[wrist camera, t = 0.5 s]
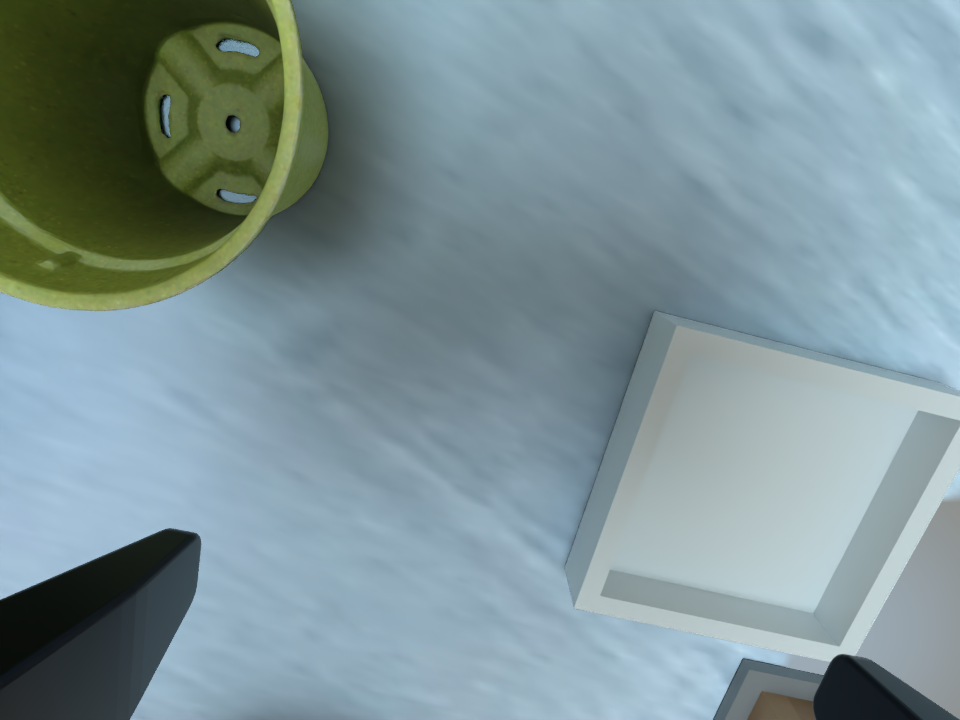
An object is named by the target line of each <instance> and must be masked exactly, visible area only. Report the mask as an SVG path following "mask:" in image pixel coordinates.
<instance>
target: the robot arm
mask: <svg viewBox="0 0 960 720" xmlns="http://www.w3.org/2000/svg"><path fill="white" fill-rule="evenodd" d="M200 551H201V539H200V536H199V535H198V534H197V533H194V532H188V531H183V530H178V529H171V528H169V529H165V530H162V531H159V532H157V533H155V534H152V535H150V536H148V537H145V538H143V539H141V540H138V541H136V542H134V543H131V544H129V545H127V546H125V547H122V548H120V549H118V550H115V551H113V552H111V553H108V554H106V555H104V556H101V557H99V558H97V559H94V560H92V561H90V562H87V563H85V564H83V565H80V566H78V567H76V568H73V569H71V570H69V571H66V572H64V573H62V574H59V575H57V576H55V577H52V578H50V579H48V580H45V581H43V582H41V583H38V584H36V585H34V586H31V587H29V588H27V589H24V590H22V591H20V592H17V593H15V594H13V595H10V596H8V597H6V598H3V599H1V600H0V720H130V718H131V716H132V714H133V713H134V711H135V709H136V707H137V705H138V704H139V702H140V700H141V698H142V696H143V694H144V692H145V690H146V688H147V687H148V685H149V683H150V681H151V679H152V677H153V675H154V673H155V671H156V670H157V668H158V666H159V664H160V662H161V660H162V658H163V656H164V654H165V653H166V651H167V649H168V647H169V645H170V643H171V641H172V639H173V637H174V635H175V634H176V632H177V630H178V628H179V626H180V624H181V622H182V620H183V618H184V617H185V615H186V613H187V611H188V609H189V607H190V605H191V603H192V601H193V598H194V595H195V592H196V588H197V580H198V571H199V561H200ZM813 711H814V716H815V719H816V720H959V719H958V718H956V717H955V716H953V715H952V714H951V713H949V712H948V711H946V710H945V709H943V708H942V707H940V706H939V705H937V704H936V703H934V702H933V701H931V700H930V699H928V698H927V697H925V696H924V695H922V694H921V693H919V692H918V691H916V690H915V689H913V688H912V687H910V686H909V685H908V684H906V683H904V682H903V681H902V680H900V679H899V678H897V677H896V676H894V675H893V674H891V673H890V672H888V671H887V670H885V669H884V668H882V667H881V666H879V665H878V664H876V663H875V662H873V661H872V660H869V659H867V658H863V657H858V656H853V655H847V654H839V655H837V656H835V657H834V658H833V659H832V661H831V662H830V664H829V666H828V668H827V671H826V672H825V674H824V676H823V678H822V680H821V682H820V684H819V686H818V688H817V691H816V693H815V695H814V698H813Z"/></svg>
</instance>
